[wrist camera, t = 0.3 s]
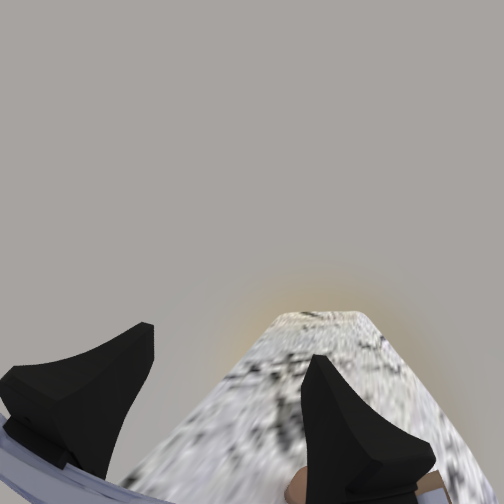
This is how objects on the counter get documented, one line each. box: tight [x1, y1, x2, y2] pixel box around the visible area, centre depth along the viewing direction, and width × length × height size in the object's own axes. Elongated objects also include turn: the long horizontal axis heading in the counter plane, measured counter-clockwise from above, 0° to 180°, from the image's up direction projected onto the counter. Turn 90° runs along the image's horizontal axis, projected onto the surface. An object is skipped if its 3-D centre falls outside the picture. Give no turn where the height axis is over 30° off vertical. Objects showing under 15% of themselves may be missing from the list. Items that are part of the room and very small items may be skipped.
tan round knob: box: [285, 466, 307, 504], centre depth 19 cm, size 4×4×4 cm
